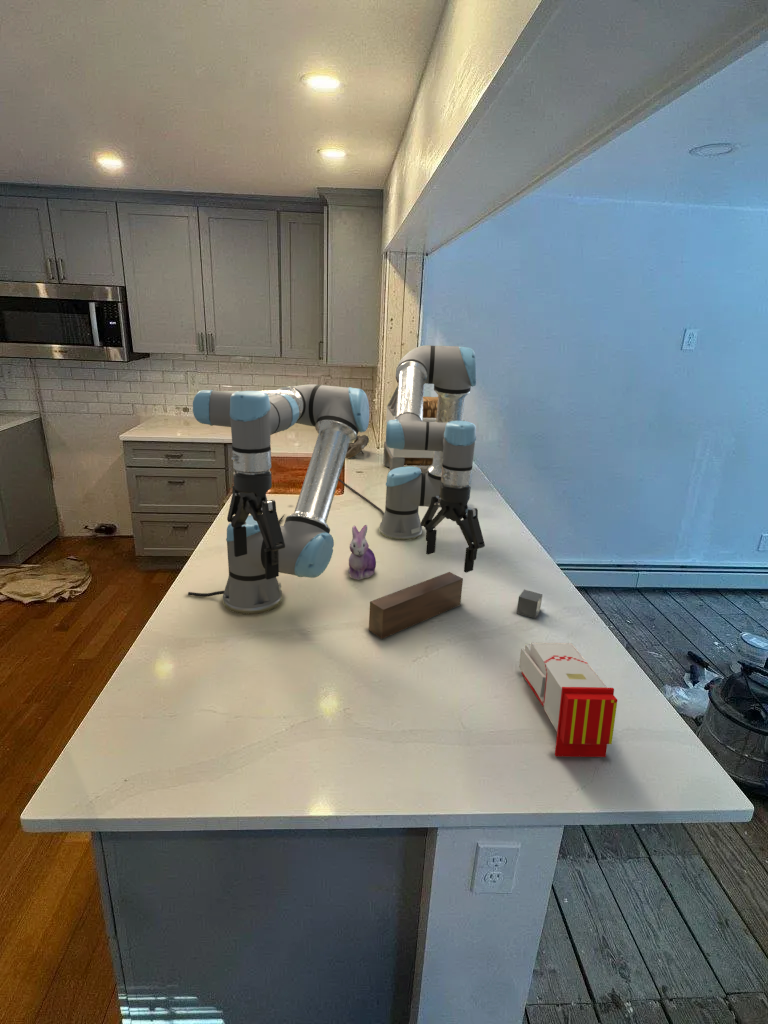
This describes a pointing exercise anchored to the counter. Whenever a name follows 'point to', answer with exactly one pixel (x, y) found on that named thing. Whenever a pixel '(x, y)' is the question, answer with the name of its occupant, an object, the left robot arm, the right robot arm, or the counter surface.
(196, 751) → the counter surface
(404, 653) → the counter surface
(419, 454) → the grey wooden crate
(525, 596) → the slate cube
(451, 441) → the right robot arm
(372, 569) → the figurine
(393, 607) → the walnut bar
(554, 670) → the toy
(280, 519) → the feather
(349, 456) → the fossil
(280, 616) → the counter surface
